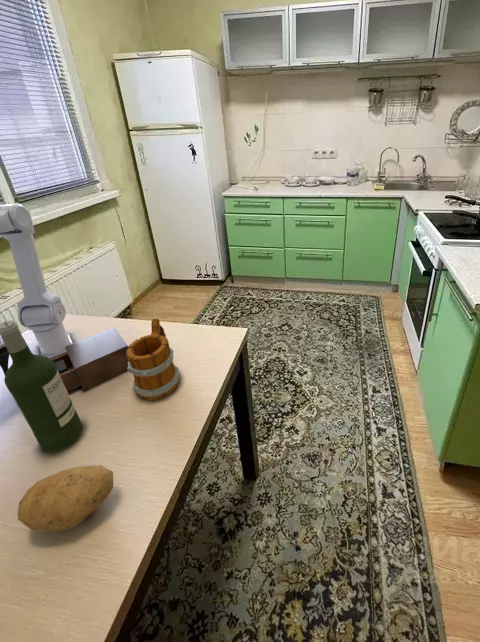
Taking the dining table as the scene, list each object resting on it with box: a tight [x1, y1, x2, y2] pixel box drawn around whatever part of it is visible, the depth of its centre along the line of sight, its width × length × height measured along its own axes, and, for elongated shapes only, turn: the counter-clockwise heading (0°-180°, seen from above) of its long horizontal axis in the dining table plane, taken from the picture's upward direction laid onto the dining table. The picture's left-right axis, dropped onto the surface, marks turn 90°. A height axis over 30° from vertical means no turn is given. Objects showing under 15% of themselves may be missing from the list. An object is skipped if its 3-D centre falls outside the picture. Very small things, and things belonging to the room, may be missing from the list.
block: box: [54, 360, 68, 374], centre depth 82 cm, size 4×4×4 cm
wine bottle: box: [0, 320, 84, 453], centre depth 64 cm, size 8×8×30 cm
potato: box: [17, 464, 114, 533], centre depth 56 cm, size 10×14×8 cm
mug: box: [126, 318, 180, 401], centre depth 83 cm, size 11×16×15 cm, turn 5°
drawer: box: [51, 352, 82, 393], centre depth 82 cm, size 16×10×6 cm, turn 132°
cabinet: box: [65, 327, 129, 392], centre depth 88 cm, size 13×12×8 cm
